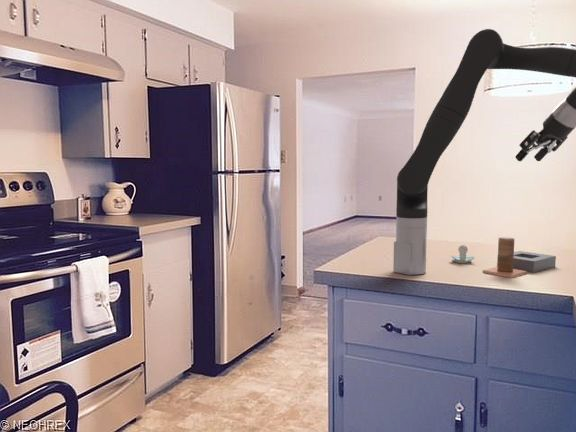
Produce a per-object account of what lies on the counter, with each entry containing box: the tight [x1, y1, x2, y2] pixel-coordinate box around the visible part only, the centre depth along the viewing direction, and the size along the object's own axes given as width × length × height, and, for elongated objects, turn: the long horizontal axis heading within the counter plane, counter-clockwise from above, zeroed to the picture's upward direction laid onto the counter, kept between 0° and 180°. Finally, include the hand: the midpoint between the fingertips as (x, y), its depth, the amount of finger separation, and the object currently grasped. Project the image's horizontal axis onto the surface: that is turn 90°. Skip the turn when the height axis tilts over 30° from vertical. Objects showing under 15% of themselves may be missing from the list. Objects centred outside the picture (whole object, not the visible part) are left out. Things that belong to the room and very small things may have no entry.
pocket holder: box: [496, 250, 557, 273], centre depth 159 cm, size 14×12×4 cm
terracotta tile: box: [482, 266, 528, 279], centre depth 150 cm, size 9×9×1 cm
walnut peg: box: [496, 236, 515, 272], centre depth 149 cm, size 4×4×10 cm
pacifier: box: [451, 244, 475, 264], centre depth 167 cm, size 7×6×6 cm
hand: (527, 159), depth 149 cm, fingers open, 8 cm apart
